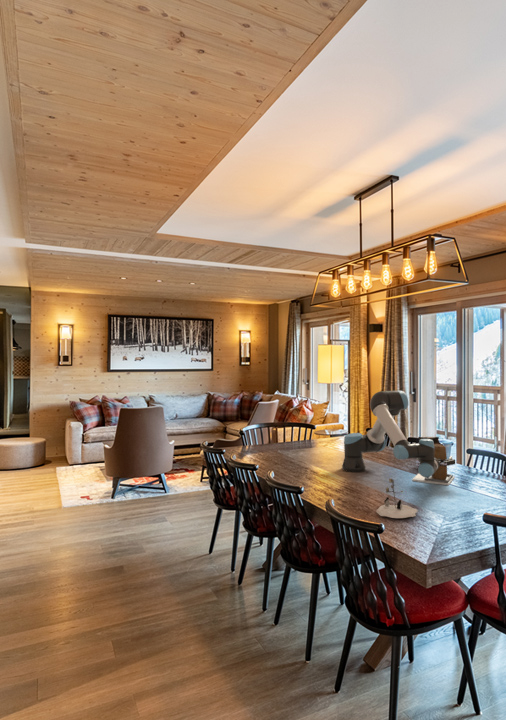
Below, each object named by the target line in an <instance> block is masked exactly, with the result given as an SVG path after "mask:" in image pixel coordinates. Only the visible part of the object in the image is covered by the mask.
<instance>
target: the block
mask: <svg viewBox="0 0 506 720" xmlns="http://www.w3.org/2000/svg"><path fill="white" fill-rule="evenodd" d="M434 448H435V449H434V458H436V459H442V460H445V459H448V458H447V448H446V446H445V445H444V444H434ZM447 474H448V466H446V467H445V466H444V465H442V466H439V468H438V469H437V470H436V471H435V472H434V474H433V475H432V477H433V478H434V479H439V480H445V479H446V478H447Z"/></svg>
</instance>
